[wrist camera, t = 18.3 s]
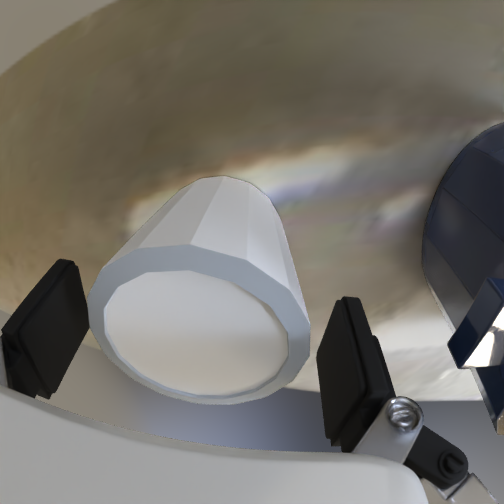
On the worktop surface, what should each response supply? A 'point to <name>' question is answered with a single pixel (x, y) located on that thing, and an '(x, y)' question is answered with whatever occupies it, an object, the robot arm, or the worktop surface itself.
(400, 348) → the worktop surface
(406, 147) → the worktop surface
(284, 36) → the worktop surface
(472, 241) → the pot
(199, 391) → the white cup
